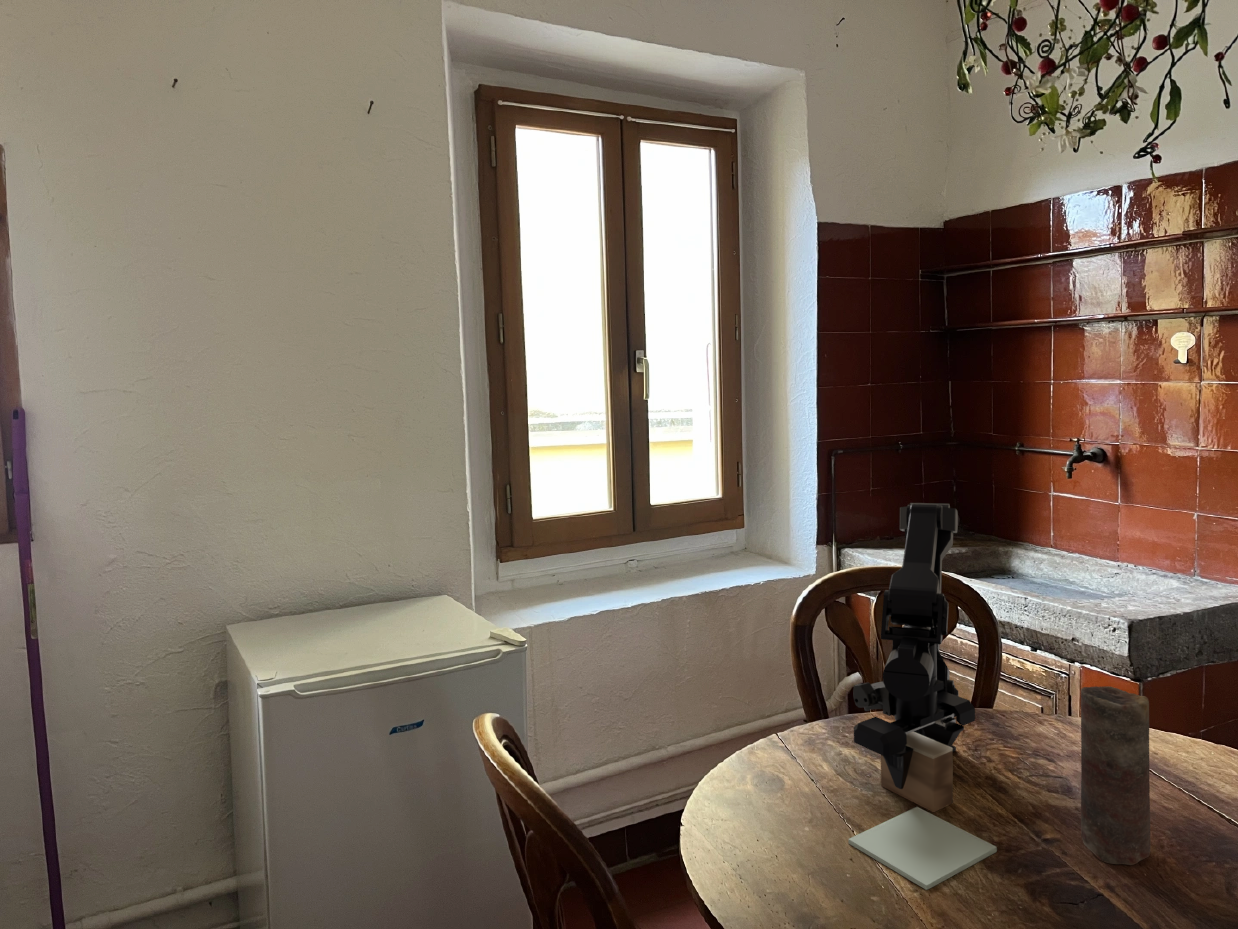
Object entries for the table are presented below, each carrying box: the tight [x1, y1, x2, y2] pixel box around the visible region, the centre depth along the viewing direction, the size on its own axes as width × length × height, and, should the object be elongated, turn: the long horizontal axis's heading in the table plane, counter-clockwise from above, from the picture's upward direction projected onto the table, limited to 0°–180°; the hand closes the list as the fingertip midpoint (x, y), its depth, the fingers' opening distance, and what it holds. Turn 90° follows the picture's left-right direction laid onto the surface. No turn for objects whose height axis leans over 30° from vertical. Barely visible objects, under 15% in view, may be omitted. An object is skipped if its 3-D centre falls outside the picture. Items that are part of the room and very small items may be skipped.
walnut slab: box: [880, 732, 954, 813], centre depth 120 cm, size 4×9×8 cm, turn 32°
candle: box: [1080, 685, 1151, 866], centre depth 104 cm, size 8×7×20 cm
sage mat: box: [847, 806, 998, 891], centre depth 107 cm, size 13×12×1 cm
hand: (916, 780), depth 120 cm, fingers open, 7 cm apart
